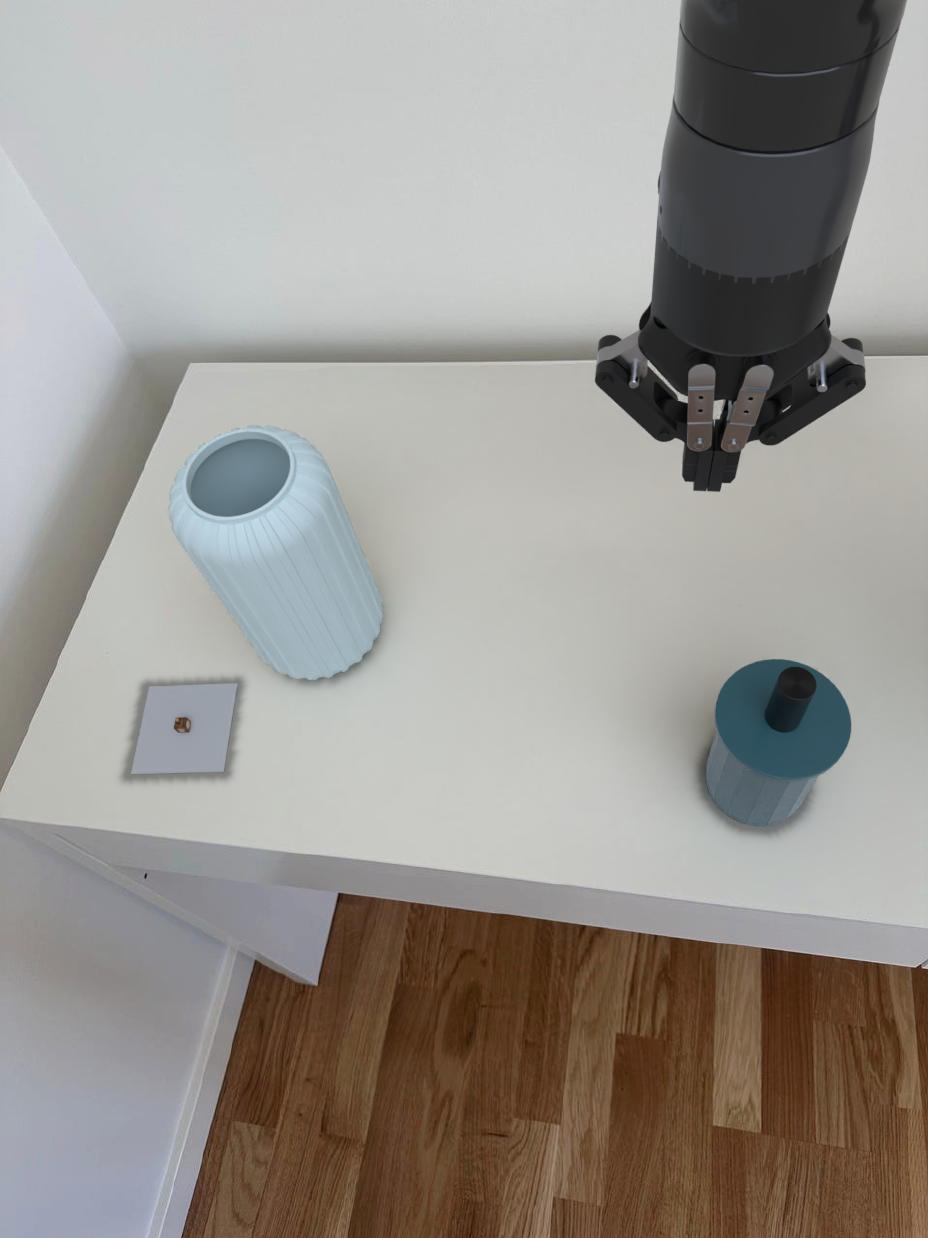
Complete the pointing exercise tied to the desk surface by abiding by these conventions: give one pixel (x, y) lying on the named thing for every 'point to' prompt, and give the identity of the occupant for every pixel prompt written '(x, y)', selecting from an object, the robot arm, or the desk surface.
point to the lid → (782, 720)
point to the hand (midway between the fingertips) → (707, 478)
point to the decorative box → (185, 729)
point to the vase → (278, 549)
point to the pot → (751, 790)
